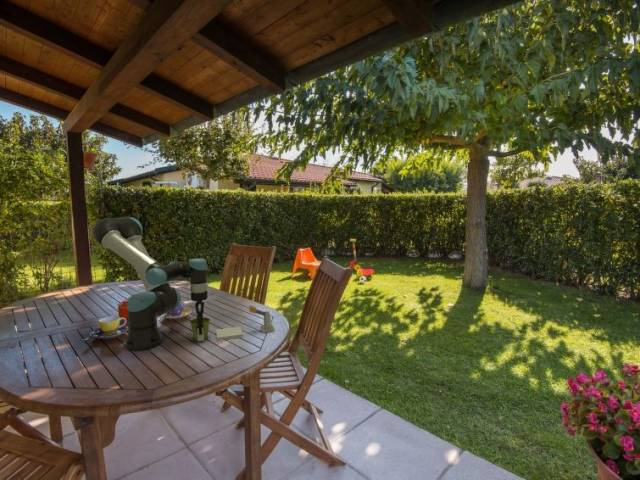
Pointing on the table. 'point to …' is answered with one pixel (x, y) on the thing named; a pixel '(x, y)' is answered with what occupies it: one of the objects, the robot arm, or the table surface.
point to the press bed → (229, 333)
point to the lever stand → (267, 324)
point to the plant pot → (205, 326)
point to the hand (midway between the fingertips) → (200, 337)
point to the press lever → (257, 311)
